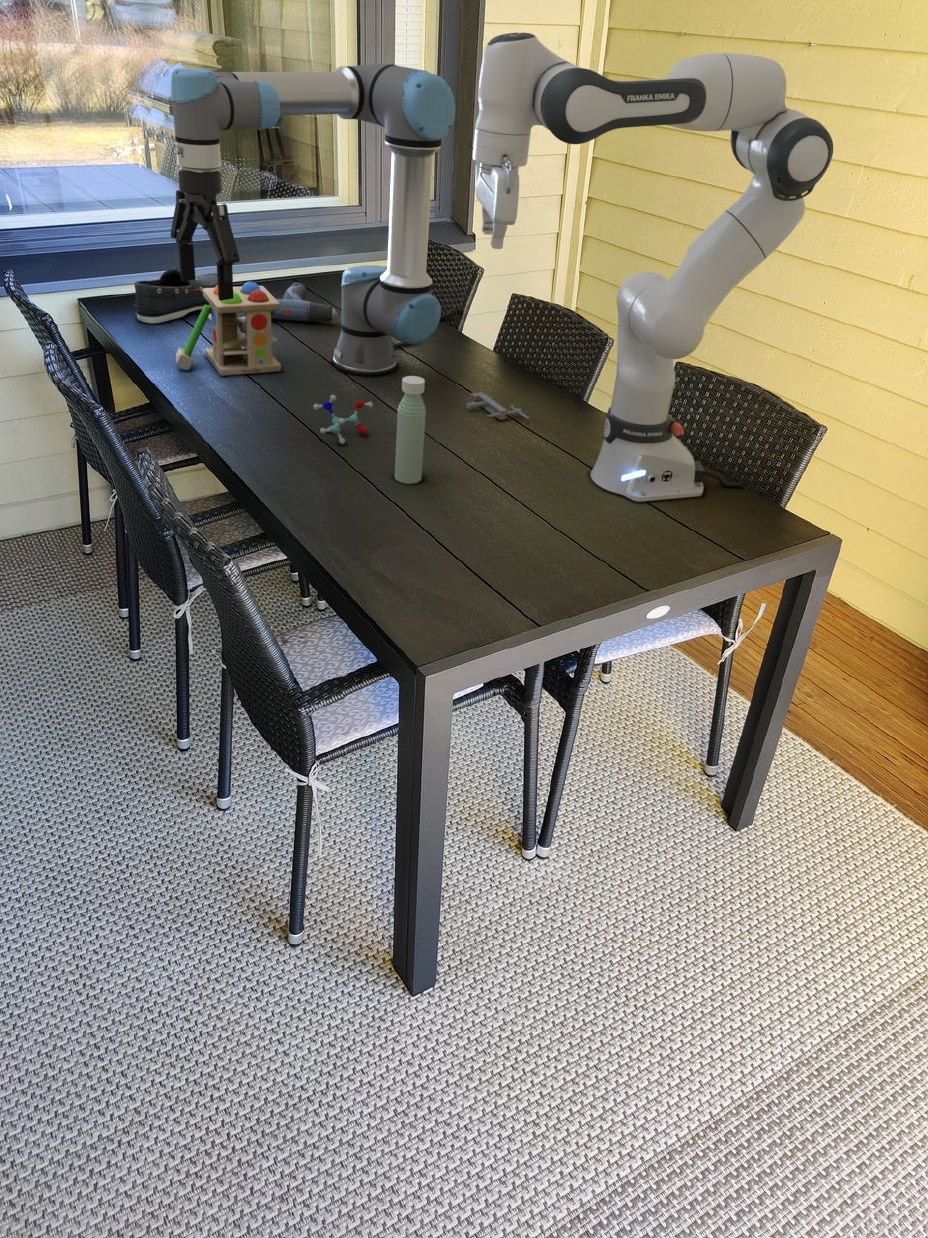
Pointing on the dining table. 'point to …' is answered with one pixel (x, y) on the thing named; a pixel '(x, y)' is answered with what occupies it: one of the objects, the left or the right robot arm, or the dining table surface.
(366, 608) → the dining table surface
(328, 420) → the dining table surface
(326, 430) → the molecular model
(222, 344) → the pounding bench toy
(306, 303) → the power drill
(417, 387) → the cap
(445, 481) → the dining table surface
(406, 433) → the bottle
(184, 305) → the boat shoe
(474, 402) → the clamp
